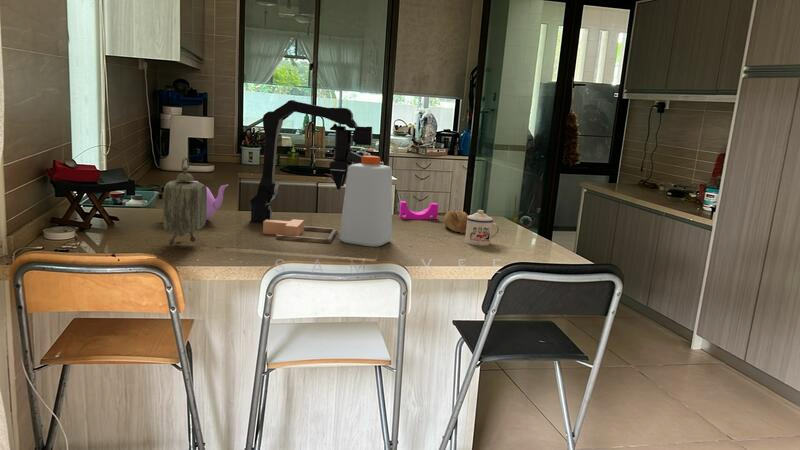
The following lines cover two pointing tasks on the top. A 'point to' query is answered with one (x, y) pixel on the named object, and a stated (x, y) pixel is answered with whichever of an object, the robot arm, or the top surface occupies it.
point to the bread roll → (456, 220)
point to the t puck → (283, 227)
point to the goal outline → (310, 239)
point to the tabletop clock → (184, 205)
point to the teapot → (213, 201)
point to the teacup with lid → (479, 229)
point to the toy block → (418, 215)
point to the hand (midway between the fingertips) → (340, 187)
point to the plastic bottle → (367, 204)
